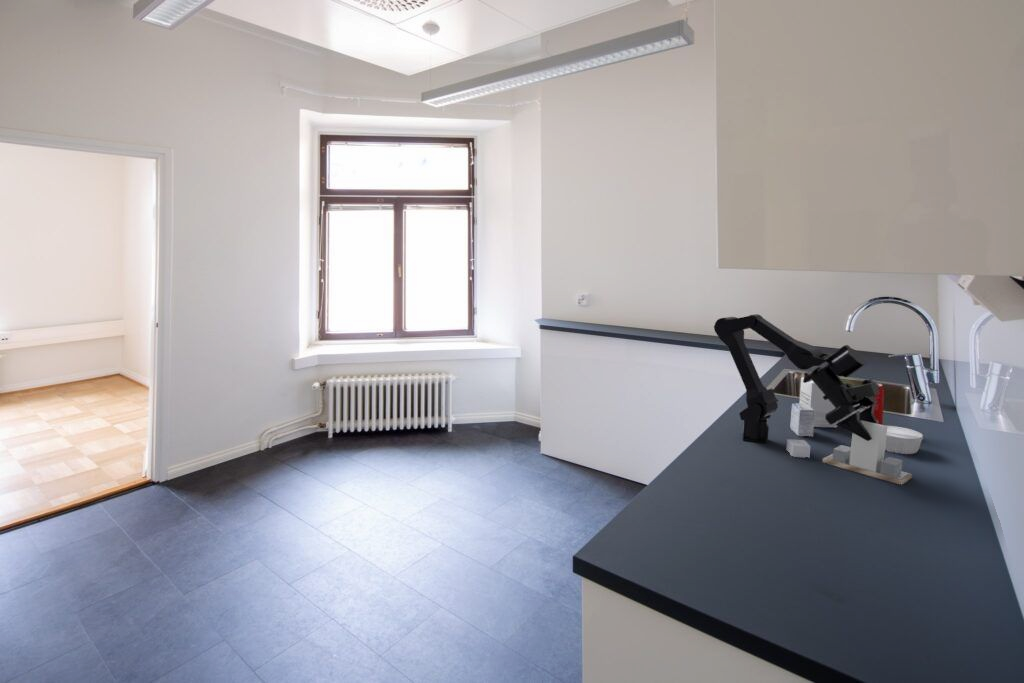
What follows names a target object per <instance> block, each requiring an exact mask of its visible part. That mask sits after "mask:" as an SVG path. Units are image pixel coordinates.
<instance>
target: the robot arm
mask: <svg viewBox="0 0 1024 683" xmlns="http://www.w3.org/2000/svg"><path fill="white" fill-rule="evenodd" d="M713 329H714V332H715V334H716V335H717V337H718V339H719V340H720V341H721V342H722V343H723V344H724V345H725V346H726V347H727V348H728V349H729V350H728V351H729V353H730V354H731V357H732V360H733V362H734V365H735V367H736V369H737V372H738V373H739V376H740V379H741V381H742V383H743V386H744V387H745V390H746V391H745V392H746V394H745V395H746V397H745V398H746V399H745V402H746V406H747V407H745V409H743V410H742V411H740V412H739V417H740V420H741V421H743V428H742V436H741V437H742V439H741V440H743V441H747V442H756V443H767V440H768V439H769V424H768V421H767V420H768V419H770V418H771V416H772V415H773V414H775V413H776V411H777V410H778V408H779V406H778V402H779V399H778V398H777V397H776V396H775V392H774V389H773V388H766V386H764V385H763V382H762V381H761V378H760V375H759V373H758V370H757V369H756V367H755V365H754V362H753V360H752V357H751V355H750V353H749V351H748V348H747V346H746V344H745V330H749V329H751V330H752V331H754V332H755V333H757V334H758V335H760V336H761V337H762V338H764V339H765V340H767V341H768V342H769V343H771V344H772V345H773V346H775V347H777V348H778V349H780V350H781V351H782V352H783V353H784V354H785V356H786V357H787V359H788V360H789V361H790V362H791V364H793V365H794V366H795V367H796V368H797V369H799V370H803V371H804V370H810V369H811V370H812V369H813V368H815V369H814V370H812V371H811V372H809V371H807V372H804V373H803V375H804V376H803V377H804V380H803V382H804V383H806V382H810V381H813V382H814V383H815V384H816V385H817V387H818V388H819V389H820V390H821V391H822V393H823V394H824V395H825V396H824V397H823V398H824V400H827V399H828V400H829V401H830V402H831V403H832V405H833V406H834V407H835V409H834V410H832V411H830V412H829V413H827V414H826V418H825V419H826V420H827V422H828V423H829V424H830V425H832V424H834V423H836V421H838V423H837V424H836V425H837V427H839V428H842V429H844V430H846V431H848V432H850V433H854V434H856V435H858V436H859V437H861V438H863V439H865V440H867V441H869V440H871V439H872V438H871V436H870V435H869V433H868V431H867V430H866V428H865V427H864V425H863V424H862V422H861V420H862V421H867V422H871V423H876V424H878V423H877V421H876V418H875V416H874V408H875V406H876V405H873V404H874V403H876V402H878V401H877V400H876V399H875V398H874V396H875V395H876V394H880V393H879V390H878V387H879V385H878V384H876V383H877V382H876V381H874V380H872V379H871V378H868V379H864V380H862V381H861V384H859V385H855V386H853V385H852V384H851V383H849V382H847V383H845V382H844V381H843V379H842V378H840V377H844V378H848V377H850V376H851V375H853V374H854V373H856V372H858V371H859V370H860V369H862V368H864V367H865V366H867V360H866V358H865V357H864V356H863V354H861V352H858V351H857V350H855V348H852V347H850V345H848V344H845V345H843V346H842V347H840V348H839V350H837V351H836V352H835V353H833V354H828V353H824V352H822V350H820V349H819V348H818V347H816V346H813V345H811V344H809V343H806V342H803V341H799V340H797V339H796V338H793V337H792V336H791V335H789V334H787V333H786V332H785V331H783V330H781V328H779V327H777V326H776V325H774V324H772V323H771V322H770V321H768V320H767V319H766V318H764V317H763V316H762V315H761V314H756V313H755V314H750V315H747V316H743V317H735V316H728V317H727V316H726V317H721V318H718V319H717V320H716V322H714V325H713ZM822 365H825V366H824V367H821V366H822ZM819 366H820V367H819ZM871 405H872V406H871Z"/></svg>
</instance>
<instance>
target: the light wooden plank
mask: <svg viewBox="0 0 1024 683" xmlns="http://www.w3.org/2000/svg"><path fill="white" fill-rule="evenodd" d="M830 455H831V454H830ZM828 456H829V455H828ZM826 457H827V456H826ZM826 459H827V460H831V461H835V462H838V463H842V464H845V465H849V466H852V467H856V468H860V469H863V470H867V471H870V472H874V473H877V474H881V475H885V476H888V477H892V478H895V479H899V480H901V479H903V478H904V477H905V476H907V475H908V474H909V472H906V471H903V470H901V472H900V473H899V474H897V475H896V476H894V477H893V476H890V475H886V474H883V473H880V469H881V468H880V469H879V470H877V471H876V472H875V471H872V470H868V469H865V468H861V467H857V466H854V465H850V464H849V461H850V460H849V461H847V462H846V463H843V462H840V461H836V460H832V459H833V455H831V456H829V457H827V458H826Z"/></svg>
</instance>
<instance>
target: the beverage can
mask: <svg viewBox="0 0 1024 683" xmlns="http://www.w3.org/2000/svg"><path fill="white" fill-rule="evenodd" d="M876 384H878V385H879V387H878V390H879V393H880V394H876V395H875V396H874V398H875V399H876V400H877V401H878V402H876V403H874V404H873V405H876V406H875V408H874V416H875V418H876V421H877V423H878V424H881V425H884V423H883V422H884V397H885V396H884V392H885V389H884V386H883V384H882V383H880V382H879V383H877V382H876ZM871 406H872V405H871Z"/></svg>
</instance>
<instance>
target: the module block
mask: <svg viewBox="0 0 1024 683" xmlns="http://www.w3.org/2000/svg"><path fill="white" fill-rule="evenodd" d="M861 422H862V424H863V425H864V427H865V428H866V430H867V431H868V433H869V435H870V436H871V438H872V439H871V440H869V441H867V440H865V439H863V438H861V437H859V436H858V435H856V434H854V433H852V432H851V433H852V434H851V435H852V436H851V442H850V444H851V445H850V447H851V451H850V461H849V464H850V465H854V466H857V467H861V468H865V469H868V470H872V471H875V472H876V471H877V470H879V469H880V468H881V461H883V460H884V458H885V453H886V450H885V444H886V436H887V427H888V426H889V425H886V424H885V425H884V424H883V425H881V424H876V423H871V422H867V421H862V420H861Z"/></svg>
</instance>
